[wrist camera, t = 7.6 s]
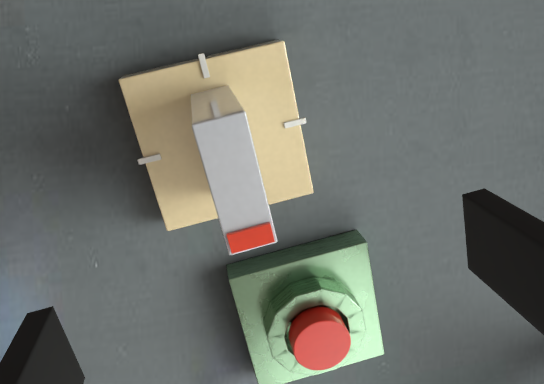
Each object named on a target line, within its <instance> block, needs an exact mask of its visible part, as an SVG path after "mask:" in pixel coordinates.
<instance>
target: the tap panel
mask: <svg viewBox="0 0 544 384" xmlns="http://www.w3.org/2000/svg"><path fill="white" fill-rule="evenodd" d="M198 57H199V58H196V59H192V60H188V61H184V62H179V63H175V64H171V65H167V66H162V67H158V68H154V69H149V70H145V71H141V72H137V73H132V74H128V75H124V76H122V77H121V78H120V79H119V83H120V86H121V90H122V93H123V96H124V99H125V102H126V105H127V108H128V111H129V114H130V118H131V121H132V124H133V127H134V130H135V133H136V136H137V139H138V142H139V145H140V149H141V152H142V155H143V158H140V159H137V160H138V163H139V165H141V164H146V167H147V170H148V173H149V177H150V180H151V183H152V186H153V189H154V192H155V195H156V198H157V201H158V204H159V208H160V211H161V214H162V217H163V220H164V223H165V226H166V229H167V231H170V230H174V229H178V228H182V227H186V226H189V225H193V224H197V223H201V222H205V221H209V220H212V219H216V218H218V215H217V212H216V208H215V205H214V201H213V198H212V195H211V191H210V188H209V184H208V181H207V177H206V174H205V171H204V167H203V164H202V160H201V157H200V153H199V150H198V147H197V143H196V140H195V136H194V133H193V129H192V122H191V102H190V95H191V94H194V93H198V92H202V91H206V90H210V89H214V88H218V87H222V86H226V85H229V87H230V88H231V90H232V91H233V93H234V94H235V96H236V98H237V99H238V101H239V102H240V104H241V106H242V107H243V109H244V110H245V112H246V115H247V119H248V123H249V127H250V131H251V135H252V139H253V143H254V147H255V151H256V155H257V159H258V164H259V168H260V172H261V176H262V180H263V184H264V188H265V192H266V196H267V200H268V204H269V205H270V204H273V203H277V202H281V201H285V200H289V199H293V198H296V197H300V196H304V195H308V194H312V193H313V192H314V191H313V186H312V181H311V176H310V171H309V166H308V160H307V155H306V150H305V145H304V140H303V135H302V129H301V125H302V124H306V118H301V119H299V114H298V109H297V104H296V98H295V93H294V88H293V83H292V78H291V73H290V67H289V62H288V57H287V52H286V47H285V42H284V41H282V40H273V41H269V42H265V43H260V44H256V45H252V46H248V47H243V48H239V49H235V50H231V51H226V52H222V53H218V54H214V55H209V56H205V55H204V53H202V54H198Z"/></svg>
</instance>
